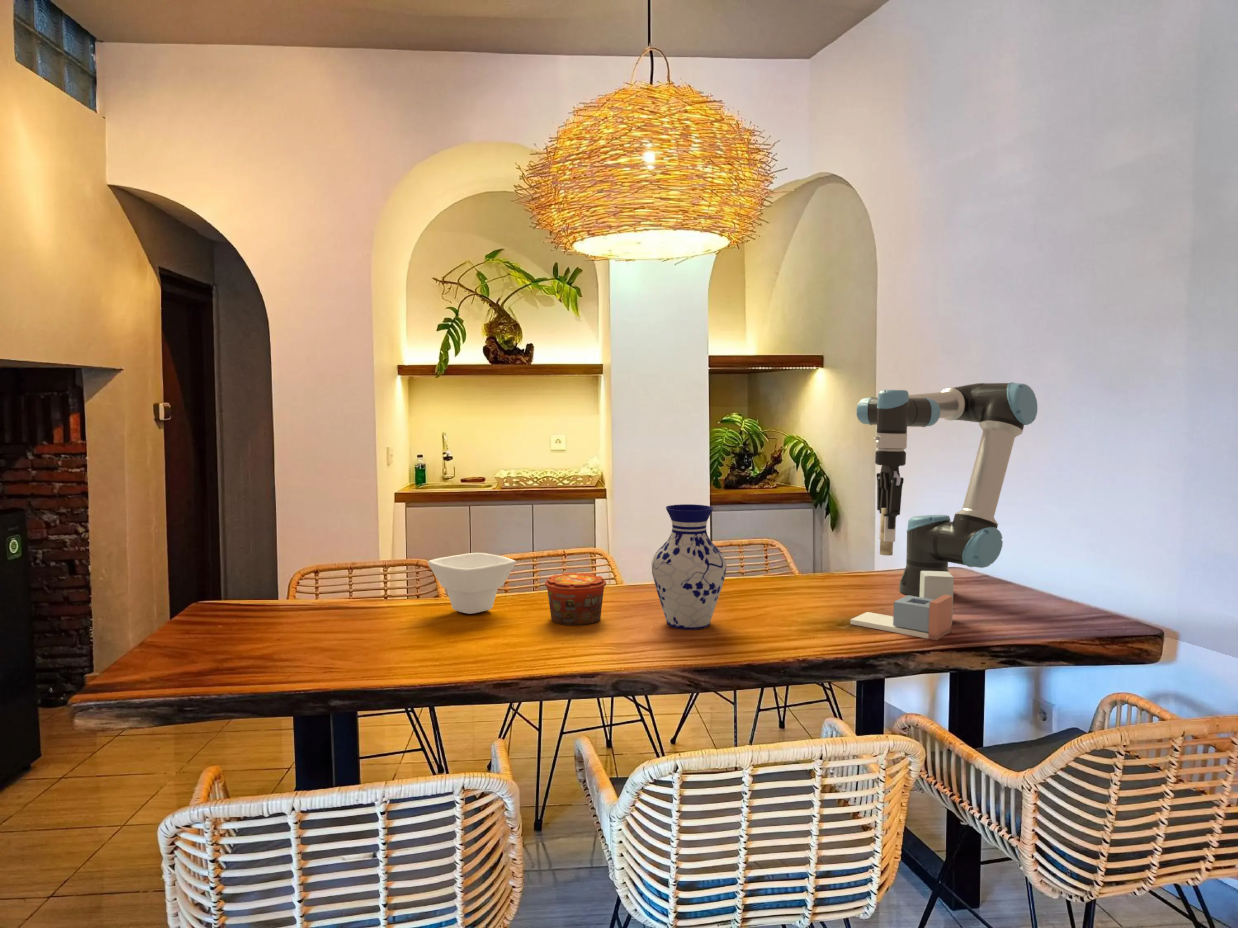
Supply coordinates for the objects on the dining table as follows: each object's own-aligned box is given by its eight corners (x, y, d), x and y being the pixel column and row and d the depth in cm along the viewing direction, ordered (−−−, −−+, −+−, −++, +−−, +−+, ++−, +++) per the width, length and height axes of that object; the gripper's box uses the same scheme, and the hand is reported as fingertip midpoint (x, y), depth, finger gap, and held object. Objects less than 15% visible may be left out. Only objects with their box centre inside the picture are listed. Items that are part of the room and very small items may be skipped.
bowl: (522, 611, 231) (522, 560, 230) (464, 625, 217) (463, 571, 216) (479, 599, 244) (479, 551, 243) (421, 612, 230) (420, 560, 229)
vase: (732, 617, 225) (734, 504, 223) (716, 637, 207) (718, 514, 205) (662, 611, 231) (663, 501, 229) (641, 629, 214) (642, 510, 211)
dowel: (889, 553, 225) (891, 507, 224) (894, 555, 222) (896, 509, 221) (877, 553, 225) (879, 507, 224) (882, 555, 221) (884, 509, 221)
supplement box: (952, 625, 219) (954, 576, 218) (922, 624, 220) (923, 575, 219) (947, 618, 226) (949, 571, 225) (918, 616, 227) (919, 569, 226)
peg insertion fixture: (866, 616, 228) (867, 582, 227) (951, 631, 213) (952, 595, 213) (850, 623, 220) (851, 589, 219) (936, 640, 206) (938, 603, 205)
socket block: (907, 618, 220) (907, 595, 220) (942, 624, 214) (943, 600, 214) (893, 625, 213) (893, 601, 213) (929, 632, 207) (930, 607, 207)
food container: (534, 623, 219) (534, 582, 218) (560, 609, 234) (560, 570, 233) (592, 630, 213) (592, 587, 213) (615, 614, 228) (615, 574, 228)
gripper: (866, 447, 229) (863, 535, 231) (887, 451, 213) (883, 545, 215) (894, 448, 229) (890, 535, 231) (916, 452, 213) (912, 545, 215)
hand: (887, 540), depth 223 cm, fingers closed on dowel, 3 cm apart
